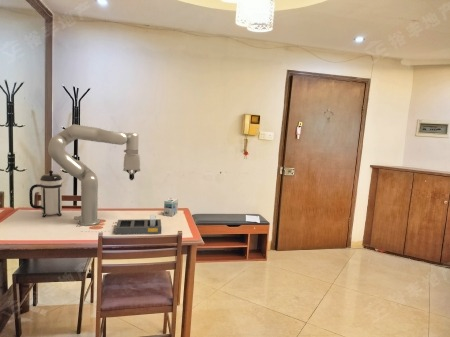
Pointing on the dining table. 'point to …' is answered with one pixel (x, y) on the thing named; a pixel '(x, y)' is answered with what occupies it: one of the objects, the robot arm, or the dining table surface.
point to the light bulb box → (170, 207)
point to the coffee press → (49, 194)
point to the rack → (138, 227)
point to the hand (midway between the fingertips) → (131, 179)
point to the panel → (152, 220)
